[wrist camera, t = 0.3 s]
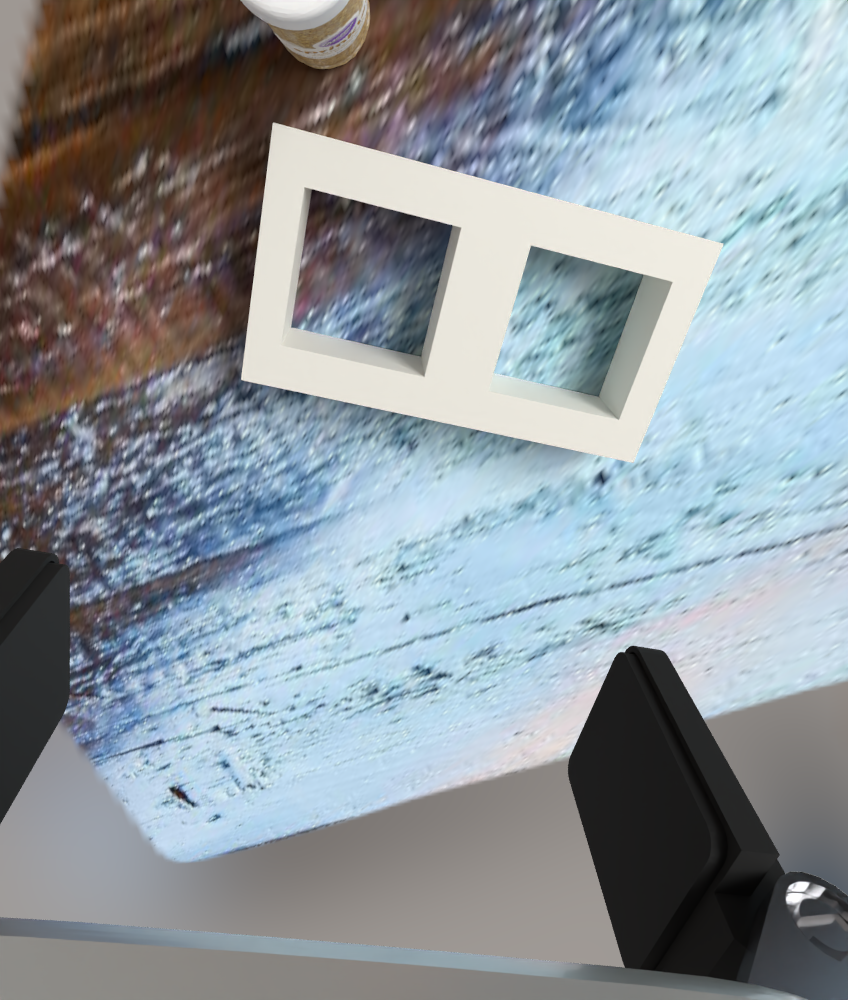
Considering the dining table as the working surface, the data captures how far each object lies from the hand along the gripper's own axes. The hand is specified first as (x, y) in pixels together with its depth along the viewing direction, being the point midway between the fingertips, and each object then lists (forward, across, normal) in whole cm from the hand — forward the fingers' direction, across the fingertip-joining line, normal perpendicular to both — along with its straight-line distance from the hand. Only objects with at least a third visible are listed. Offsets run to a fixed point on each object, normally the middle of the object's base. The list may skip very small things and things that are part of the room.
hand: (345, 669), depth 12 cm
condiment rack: (+29, -5, -2) cm, 30 cm away
